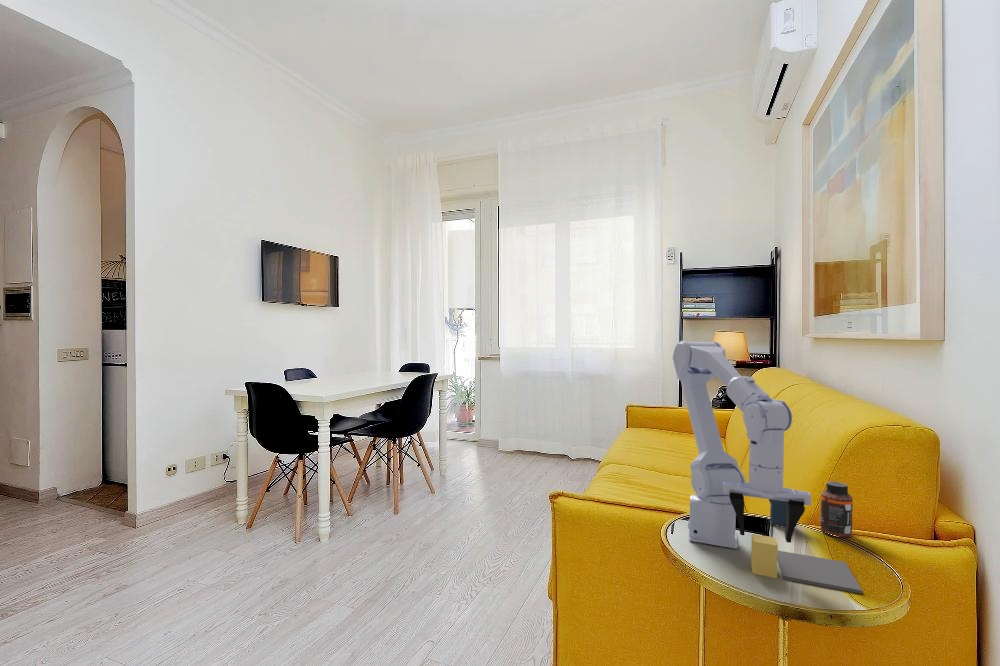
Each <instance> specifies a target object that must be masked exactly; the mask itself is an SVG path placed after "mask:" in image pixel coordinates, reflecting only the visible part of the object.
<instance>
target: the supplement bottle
mask: <svg viewBox="0 0 1000 666" xmlns="http://www.w3.org/2000/svg"><path fill="white" fill-rule="evenodd" d="M848 489H849V488H848V484H846V483H843V482H838V481H827V482H826V489H825V490H823V491H822V492H821V494H820V495H821V496H820V530H821V532H823V533H824V532H826V533H829V534H832V535H836V536H839V537H838V538H841V537H842V538H843V539H844V538H845V539H846V538H850V537H852V535H853V534H852V533H853V505H854V502H853V496H851V494H849V490H848ZM826 533H825V534H826Z"/></svg>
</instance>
